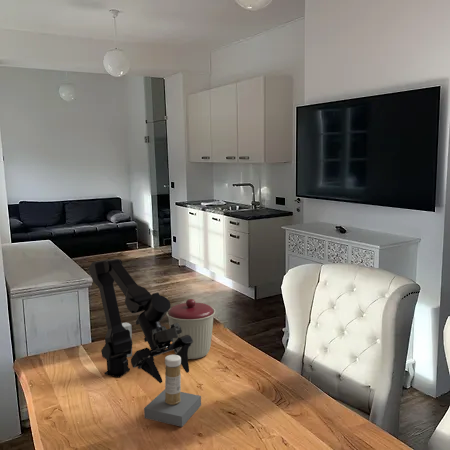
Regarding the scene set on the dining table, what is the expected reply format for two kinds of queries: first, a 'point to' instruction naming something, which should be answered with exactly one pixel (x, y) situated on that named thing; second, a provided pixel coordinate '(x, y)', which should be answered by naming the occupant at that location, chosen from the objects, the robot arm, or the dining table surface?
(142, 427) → the dining table surface
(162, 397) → the podium
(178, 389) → the sprinkles bottle
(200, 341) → the canister
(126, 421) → the dining table surface
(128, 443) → the dining table surface
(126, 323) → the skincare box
